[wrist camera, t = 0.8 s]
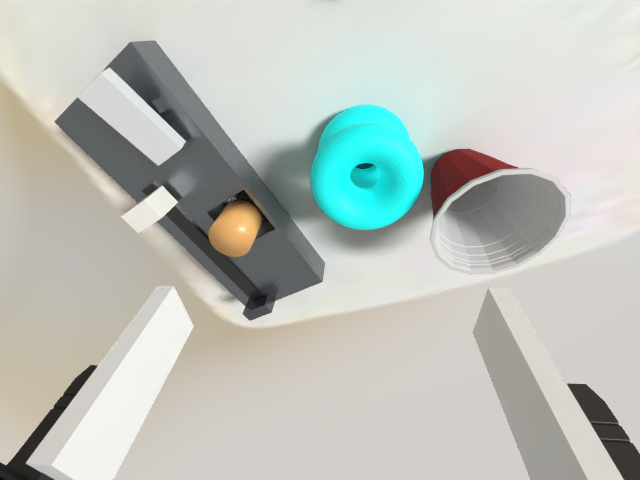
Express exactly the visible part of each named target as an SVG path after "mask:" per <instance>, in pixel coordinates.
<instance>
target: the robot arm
mask: <svg viewBox="0 0 640 480" xmlns="http://www.w3.org/2000/svg"><path fill="white" fill-rule="evenodd" d="M192 329H193V324H192V322H191V320H190V318H189V316H188V314H187V312H186V310H185V308H184V306H183V304H182V302H181V300H180V298H179V296H178V294H177V292H176V290H175V288H174V286H157V287H156V288H155V290H154V291H153V292H152V294H151V295H150V296H149V298H148V299H147V301H146V302H145V303H144V305H143V306H142V307H141V309H140V310H139V312H138V313H137V314H136V315H135V317H134V318H133V319H132V321H131V322H130V323H129V325H128V326H127V327H126V329H125V330H124V331H123V333H122V334H121V336H120V337H119V338H118V340H117V341H116V343H115V344H114V345H113V346H112V348H111V349H110V350H109V352H108V353H107V354H106V356H105V357H104V359H103V360H102V361H101V362H100V364H99V365H98V366H94V365H91V366H89V367H88V368H87V369H86V370H85V371H83V372H82V373H81V374H80V375H79V376H78V377H77V378H75V380H74V381H73V382H72V383H71V385H70V386H69V387H68V388H67V390H66V391H65V393H64V395H63V397H60V399H59V400H58V401H57V403H56V404H55V405H54V408H53V409H52V410H50V412H49V413H48V414H47V415H46V417H45V418H44V419H43V421H42V422H41V423H40V424H39V426H38V427H37V428H36V430H35V431H34V432H33V433H32V435H31V436H30V437H29V438H28V440H27V441H26V442H25V444H24V445H23V446H22V447H21V449H20V450H19V451H18V453H17V454H16V455H15V456H14V458H13V459H12V460H11V461H10V462H9V463H8V464H7V465H4V464H2V463H0V480H113V479H114V477H115V475H116V473H117V471H118V470H119V468H120V466H121V464H122V462H123V460H124V458H125V456H126V454H127V452H128V450H129V449H130V447H131V445H132V443H133V441H134V439H135V437H136V435H137V433H138V431H139V430H140V428H141V426H142V424H143V422H144V420H145V418H146V416H147V414H148V412H149V411H150V409H151V407H152V405H153V403H154V401H155V399H156V397H157V395H158V393H159V391H160V390H161V388H162V386H163V384H164V382H165V380H166V378H167V376H168V374H169V372H170V370H171V369H172V366H173V365H174V363H175V361H176V359H177V357H178V355H179V353H180V351H181V349H182V347H183V346H184V344H185V342H186V340H187V338H188V336H189V334H190V332H191V330H192ZM473 334H474V337H475V339H476V342H477V344H478V347H479V349H480V352H481V354H482V357H483V359H484V362H485V365H486V367H487V370H488V372H489V374H490V377H491V380H492V382H493V385H494V387H495V390H496V392H497V395H498V398H499V400H500V403H501V405H502V408H503V410H504V413H505V415H506V418H507V421H508V423H509V426H510V428H511V431H512V433H513V436H514V438H515V440H516V443H517V446H518V448H519V451H520V454H521V456H522V459H523V461H524V464H525V466H526V469H527V471H528V474H529V477H530V479H531V480H640V454H639V452H638V451H637V449H636V448H635V446H634V445H633V444H632V443H631V442H630V439H629V437H628V436H627V434H626V433H625V431H624V430H623V428H622V427H621V426H619V424H618V421H617V419H616V418H615V416H614V415H613V413H612V412H611V410H610V409H609V408H608V406H607V404H606V403H605V402H604V401H603V400H602V399H601V398H600V397H599V396H598V395H597V394H596V393H595V392H594V391H593V390H591V389H590V388H589V387H588V386H587V385H586V384H566V382H565V380H564V379H563V377H562V375H561V374H560V372H559V370H558V369H557V367H556V365H555V364H554V362H553V360H552V359H551V357H550V355H549V354H548V352H547V350H546V349H545V347H544V345H543V343H542V342H541V340H540V338H539V337H538V335H537V333H536V332H535V330H534V329H533V327H532V325H531V323H530V322H529V320H528V319H527V317H526V315H525V314H524V312H523V310H522V308H521V307H520V305H519V303H518V302H517V300H516V299H515V297H514V295H513V293H512V292H511V290H510V288H488V290H487V293H486V296H485V299H484V302H483V305H482V307H481V310H480V313H479V316H478V319H477V322H476V325H475V328H474V331H473Z"/></svg>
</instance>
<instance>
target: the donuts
mask: <svg viewBox="0 0 640 480" xmlns="http://www.w3.org/2000/svg"><path fill="white" fill-rule="evenodd" d="M362 163H371V164H374V165H373V166H371V167H369V168H366V169H359V168H356V167H355V166H357V165H359V164H362ZM423 177H424V170H423V163H422V159H421V157H420V154H419V152H418V150H417V148H416V147H415V145H414V144H413V142H412V141H411V140H410V138H409V134H408V132H407V130H406V128H405V126H404V124H403V123H402V122H401V120H400V119H399V118H398V117H397V116H396V115H395V114H393V113H392V112H390V111H389V110H387V109H385V108H382V107H379V106H374V105H359V106H354V107H351V108H348V109H346V110H344V111H342V112H341V113H339V114H338V115H336V116H335V117H334V118H333V119H332V120H331V121H330V122H329V123H328V125H327V126H326V128H325V129H324V131H323V133H322V135H321V138H320V141H319V146H318V152H317V154H316V156H315V158H314V161H313V164H312V168H311V175H310V183H311V189H312V193H313V196H314V199H315V201H316V203H317V205H318V206H319V208H320V209H321V210H322V211H323V213H324V214H325V215H326V216H328V217H329V218H330V219H331V220H333V221H334V222H336V223H338V224H340V225H342V226H345V227H348V228H351V229H357V230H372V229H378V228H382V227H385V226H387V225H390V224H392V223H394V222H395V221H397V220H399V219H400V218H401V217H403V216H404V215H405V214H406V213H407V212H408V211H409V210H410V209H411V208H412V206H413V205H414V204H415V202H416V200H417V199H418V197H419V194H420V192H421V188H422V184H423Z"/></svg>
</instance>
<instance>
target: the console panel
mask: <svg viewBox="0 0 640 480" xmlns="http://www.w3.org/2000/svg"><path fill="white" fill-rule="evenodd" d="M109 67H110V68H111V69H112V70H113V71H114V72H115V73H116V74H117V75H118V76H119V77H120V78H121V79H122V80H123V81H124V82H125V83H126V84H127V85H128V86H129V87H130V88H131V89H133V90H134V91H135V92H136V93H137V94H138V95H139V96H140V97H141V98H142V99H143V100H144V101H145V102H146V103H147V104H148V105H149V106H150V107H151V108H152V109H153V110H154V111H155V112H156V113H157V114H158V115H159V116H160V117H161V118H162V119H163V120H165V121H166V122H167V123H168V124H169V125H170V126H171V127H172V128H173V129H174V130H175V131H176V132H177V133H178V134H179V135H180V136H181V137H182V138H183V139H184V140H185V141H186V142H185V144H184V146H183V147H182V149H180V150H179V151H178V152H177V153H175V154H174V155H173V156H171V157H170V158H169V159H167V160H166V161H165V162H163V163H162V164H161V165H159V166H158V165H157V164H155V163H154V162H153V161H152V160H151V159H150V158H148V157H147V156H146V155H145V154H144V153H142V152H141V151H140V150H139V149H138V148H137V147H135V146H134V145H133V144H132V143H131V142H129V141H128V140H127V139H126V138H125V137H124V136H122V135H121V134H120V133H119V132H118V131H117V130H115V129H114V128H113V127H112V126H111V125H109V124H108V123H107V122H106V121H105V120H104V119H102V118H101V117H100V116H99V115H98V114H97V113H95V112H94V111H93V110H92V109H91V108H89V107H88V106H87V105H86V104H85V103H84V102H82V101H81V100H80V99H79V98H78V97H77V99H76V100H75V101H74V102H73V103H72V104H71V105H70V106H69V107H68V108H67V109H66V110H65V111H64V112H63V113H62V114H61V115H60V116H59V117H58V118H57V120H56V121H55V123H56V124H57V125H58V126H59V127H60V128H61V129H62V130H63V131H64V132H65V133H66V134H68V135H69V136H70V137H71V138H72V139H73V140H74V141H75V142H76V143H77V144H78V145H79V146H80V147H81V148H82V149H83V150H84V151H85V152H86V153H87V154H88V155H89V156H90V157H91V158H92V159H93V160H94V161H95V162H97V163H98V164H99V165H100V166H101V167H102V168H103V169H104V170H105V171H106V172H107V173H108V174H109V175H110V176H111V177H112V178H113V179H114V180H115V181H116V182H117V183H118V184H119V185H120V186H121V187H122V188H123V189H124V190H125V191H127V192H128V193H129V194H130V195H131V196H132V197H133V198H134V199H135V200H136V201H137V202H140V201H141V200H142V199H144V198H145V197H147V196H148V195H150V194H151V193H152V192H154V191H155V190H157V189H158V188H159V187H161V186H163V187H164V188H165V189H166V190H167V191H168V192H169V193H170V194H171V195H172V196H173V197H174V198H175V199H176V200H177V201H178V203H177V204H176V205H175V206H174V207H173V208H172V209H171V210H170V211H169V212H168V213H166V214H165V215H164V216H163V217H162V218H161V219H160V220H158V222H159V223H160V224H161V225H162V226H163V227H164V228H165V229H166V230H167V231H168V232H169V233H170V234H171V235H172V236H173V237H174V238H175V239H176V240H177V241H178V242H179V243H180V244H181V245H182V246H183V247H185V248H186V249H187V250H188V251H189V252H190V253H191V254H192V255H193V256H194V257H195V258H196V259H197V260H198V261H199V262H200V263H201V264H202V265H203V266H204V267H205V268H206V269H207V270H208V271H209V272H210V273H211V274H212V275H214V276H215V277H216V278H217V279H218V280H219V281H220V282H221V283H222V284H223V285H224V286H225V287H226V288H227V289H228V290H229V291H230V292H231V293H232V294H233V295H234V296H235V297H236V298H237V299H238V300H239V301H240V302H241V303H243V304H244V305H245V306H246V307H245V309H244V312H243V315H244V316H245V317H246V318H247V319H249V320H253V319H256V318H258V317H261V316H263V315H266V314H269V313H271V312H272V309H273V306H274V302H275V301H276V300H278V299H281V298H283V297H286V296H288V295H291V294H293V293H296V292H298V291H301V290H303V289H306V288H308V287H311V286H313V285H316V284H318V283H321V282H323V274H324V266H325V263H324V261H323V260H322V259H321V257H320V256H319V255H318V253H317V252H316V251H315V249H314V248H313V247H312V246H311V244H310V243H309V242H308V240H307V239H306V238H305V236H304V235H303V234H302V232H301V231H300V230H299V228H298V227H297V226H296V225H295V223H294V222H293V221H292V219H291V218H290V217H289V215H288V214H287V213H286V211H285V210H284V209H283V208H282V206H281V205H280V204H279V202H278V201H277V200H276V198H275V197H274V196H273V194H272V193H271V192H270V191H269V189H268V188H267V187H266V185H265V184H264V183H263V181H262V180H261V179H260V177H259V176H258V175H257V174H256V172H255V171H254V170H253V168H252V167H251V166H250V164H249V163H248V162H247V160H246V159H245V158H244V157H243V155H242V154H241V153H240V151H239V150H238V149H237V147H236V146H235V145H234V143H233V142H232V141H231V139H230V138H229V137H228V136H227V134H226V133H225V132H224V130H223V129H222V128H221V126H220V125H219V124H218V122H217V121H216V120H215V119H214V117H213V116H212V115H211V113H210V112H209V111H208V109H207V108H206V107H205V105H204V104H203V103H202V102H201V100H200V99H199V98H198V96H197V95H196V94H195V92H194V91H193V90H192V88H191V87H190V86H189V85H188V83H187V82H186V81H185V79H184V78H183V77H182V75H181V74H180V73H179V71H178V70H177V69H176V67H175V66H174V65H173V64H172V62H171V61H170V60H169V58H168V57H167V56H166V54H165V53H164V52H163V50H162V49H161V48H160V47H159V45H158V44H157V43H156V41H140V42H130V43H129V44H128V45H127V46H126V47H125V48H124V49H123V50H122V51H121V52H120V53H119V54H118V56H117V57H116V58H115V59H114V60H113V61H112V62H111V63H110V64H109V65H108V66H107V67H106V68H105V69H104V70H106V69H108V68H109ZM104 70H103V71H104ZM103 71H102V72H103ZM242 190H244V191H245V192H246V193H247V194H248V195H249V197H250V198H251V199H252V200H253V202H254V203H255V204H256V205H257V207H258V208H259V209H260V210H261V212H262V213H263V214H264V215H265V216H266V218H267V219H268V220H267V221H265V222H263V223H262V225H261V227H260V229H259V232H258V234H257V236H256V238H255V240H254V242H253V244H252V246H251V249H250V250H249V252H248V253H246V254H245V255H243V256H240V257H231V256H226V255H224V254H222V253H220V252H219V251H217V250H216V249H215V248H214V247H213V246H212V244H211V243H210V241H209V237H208V232H209V229H210V228H211V226H212V225H213V223H214V222H215V221H216V219H217V218H218V216H219V215H220V214H221V212H222V211H223V210H224V208H225V207H226V205H225V204H224V203H223V202H224V201H226V200H227V199H229V198H231V197H232V196H234V195H236V194H237V193H239V192H241V191H242Z"/></svg>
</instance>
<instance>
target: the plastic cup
mask: <svg viewBox="0 0 640 480" xmlns="http://www.w3.org/2000/svg"><path fill="white" fill-rule="evenodd" d="M431 198H432V207H433V225H432V230H431V236H430V243H431V245H432V248H433V251H434V254H435V256H436V258H437V259H438V260H440V261H441V262H442V263H443V264H445V265H446V266H447V267H448V268H449V269H452V270H456V271H459V272H463V273H467V274H493V273H497V272H500V271H504V270H507V269H511V268H515V267H518V266H520V265H521V264H523V263H525V262H527V261H529V260H531V259H532V258H534V257H536V256H538V255H540V254H541V253H542V252H543V251H544V250H545V249H546V248H547V247H549V246H550V245H551V244H552V243H553V242H554V241H555V240H556V239H557V238H558V237H559V236H560V234H561V232H562V230H563V229H564V227H565V225H566V223H567V221H568V219H569V217H570V193H569V192H568V191H567V189H566V188H565V187H564V186H563V184H562V183H561V182H560V180H559V179H558V178H557V177H554V176H552V175H549V174H546V173H543V172H540V171H537V170H535V169H532V168H518V167H515V166H512V165H509V164H507V163H504V162H502V161H500V160H498V159H495V158H493V157H490V156H488V155H485V154H482V153H479V152H476V151H474V150H471V149H456V150H453V151H451V152H449V153H446V154H445V155H444V156H442V157H441V158H440V159H439V160H438V161H437V163H436V164H435V166H434V168H433V169H432V174H431Z"/></svg>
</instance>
